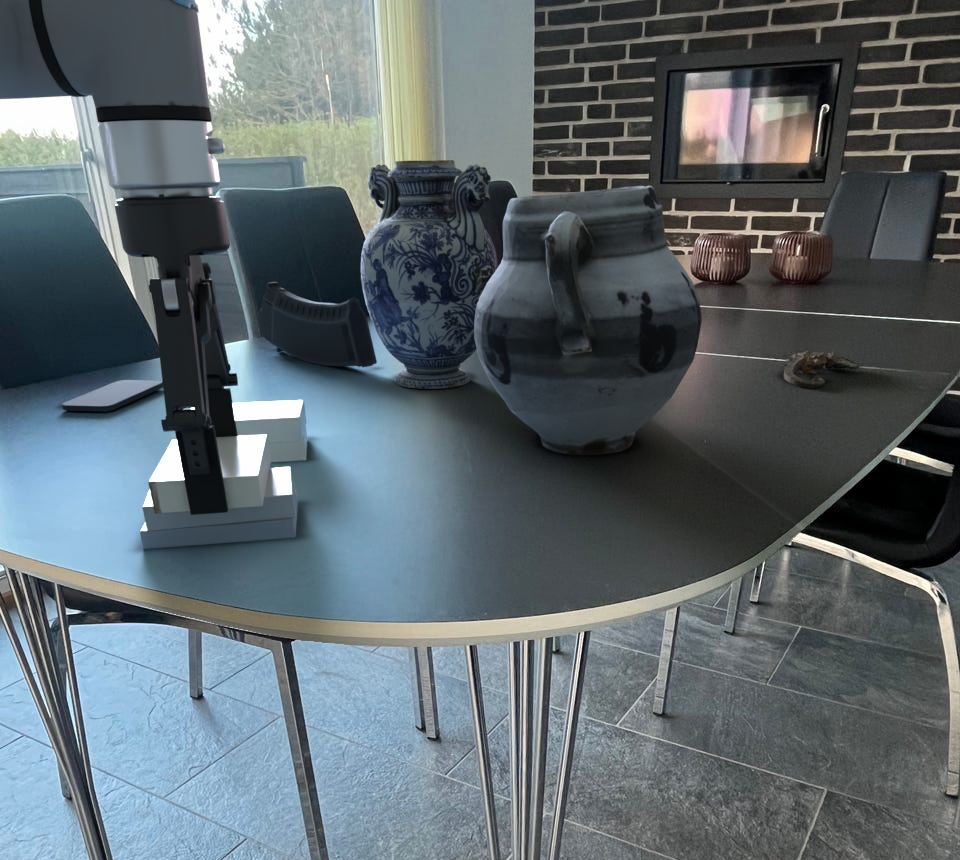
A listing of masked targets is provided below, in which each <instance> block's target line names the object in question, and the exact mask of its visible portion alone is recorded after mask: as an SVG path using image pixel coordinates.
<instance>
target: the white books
mask: <svg viewBox="0 0 960 860" xmlns="http://www.w3.org/2000/svg"><path fill="white" fill-rule="evenodd" d="M190 409H195V408H190ZM233 409H234V415H235V422H236V428H237V435H238V436H250V435H267V437H268V445H269V452H270V460H271V463H283V462H295V461H297V462H298V461H307V455H308V454H307V453H308V433H307V415H306V406H305V400H304V399H293V400H292V399H291V400H290V399H289V400H271V401H270V400H269V401H250V402H247V401H246V402H233Z"/></svg>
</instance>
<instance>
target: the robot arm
mask: <svg viewBox="0 0 960 860" xmlns="http://www.w3.org/2000/svg"><path fill="white" fill-rule="evenodd" d="M199 14H200V11H199V5H198V4H197V2H196V0H0V100H15V99H20V100H21V99H38V98H59V97H71V98H72V97H73V98H85V97H86V98H87V97H88V96H89V97H92V100H93V104H94V108H95V114H96V120H97V127H98V132H99V137H100V143H101V149H102V153H103V159H104V164H105V169H106V174H107V180H108V185H109V186H110V187H111V188H112V189H113V190H119V195H120V198H118V199H116V203H115V204H114V205H113V206H114V209H115V210H114V211H115V215H116V220H117V225H118V230H119V235H120V240H121V246H122V249H123V251H124V252H125V254H127V255H129V256H131V257H134V258H154V259H155V260H156V263H157V274H158V278H150V279H149V284H148V290H149V293H150V296H151V300H152V301H151V302H152V306H153V312H154V318H155V327H156V337H157V344H158V346H157V347H158V353H159V354H158V355H159V362H160V372H161V381H163V388H162V389H163V398H164V406H165V407H164V408H165V419H160V423H161V429H162V430H163V432H166V433H167V432H174V433H175V439H177V445H178V450H179V455H180V460H181V466H182V471H183V476H184V482H185V487H186V492H187V497H188V503H189V508H190V513H191V515H198V514H211V513H225V512H227V511H228V505H227V499H226V493H225V487H224V481H223V475H222V469H221V463H220V457H219V451H218V445H217V439H216V437H232V436H238V435H237V428H236V422H235V415H234V409H233V403H234V402H233V396H232V391H231V390H232V389H231V387H238V386H239V379H238V374H237V373H238V372H234V373H232V372H231V364H230V363H229V358H228V354H227V349H226V345H225V339H224V335H223V330H222V326H221V321H220V316H219V311H218V306H217V302H216V300H217V299H216V297H217V296H216V286H215V283H214V279H213V278H212V266H210V264H209V261H202V258H201V256H210V255H217V254H223V253H226V252H227V251H228V250H229V249H230V247H231V240H230V233H229V227H228V226H229V225H228V219H227V212H226V206H225V201H224V200H222V197H221V196H216V195H215V196H214V188H216V187H219V186H220V184H221V177H220V169H219V162H218V159H216V157H215V155H221V154H222V155H223V154H224V152H225V151H226V145H225V143H224V141H223V139H222V138H220V137H212V136H213V133H214V129H213V128H214V127H213V124H212V121H213V120H212V119H213V118H212V113H211V108H210V107H211V106H210V100H209V93H208V86H207V85H208V83H207V78H206V77H207V76H206V70H205V61H204V53H203V46H202V38H201V30H200V22H199ZM230 372H231V373H230ZM227 387H228V388H227ZM191 408H195V409H191Z"/></svg>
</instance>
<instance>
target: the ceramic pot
mask: <svg viewBox="0 0 960 860" xmlns="http://www.w3.org/2000/svg"><path fill="white" fill-rule="evenodd" d="M663 211H664V210H663V205H662V204H661V202H660V200H659V197H658V196H657V192H656V190H655V187H654V186H652V185H647V186H645V185H636V186H623V187H617V188H606V189H597V190H596V189H595V190H587V191H585V190H584V191H574V192H566V193H558V194H557V193H555V194H554V193H553V194H552V193H550V194H540V195H529V196H528V195H527V196H519V197H518V196H517V197H512V198H510V199H509V201H508V203H507V206H506V211H505V214H504V217H503V219H502V244H503V245H502V249H503V252H502V259H501V262H500V264H499V265H498V268H497V270H496V271H495V272H494V274H493V275H492V277H491V278H490V280H489V281H488V282H487V284H486V286H485V288H484V290H483V292H482V294H481V296H480V298H479V301H478V303H477V307H476V313H475V320H474V339H475V343H476V348H477V349H476V350H477V352H476V353H477V356H478V359H479V362H480V364H481V366H482V368H483V370H484V372H485V374H486V376H487V378H488V380H489V382H490V383H491V385H492V386H493V388H494V389H495V391H496V392H497V394H498V395H499V396H500V397H501V399H502V400H503V401H504V403H505V404H506V405H507V407H508V409H509V410H510V412H511V413H512V414H513V415H515V416H516V417H517V418H518V419H519V420H520V421H521V422H523V423H524V424H525V425H527V426H528V427H529V428H531V429H532V430H533V431H534V432H536V433H537V434H538V435H539V437H540V440H541V441H540V442H541V445H542V447H544V448H546V449H547V450H550V451H551V452H555V453H560V454H564V455H574V456H598V455H607V454H614V453H619V452H623V451H625V450H627V449H629V448H630V447H632V446H633V442H634V439H635V436H636V433H637V431H638V430H639V429H640V428H642V427H643V426H644V425H645V424H646V423H647V422H648V421H649V420H651V419H652V417H654V416H655V415H656V414H657V413H658V412H659V411H660V410H662V409H663V407H664V406H665V405H666V404H667V402H669V401H670V400H671V398H672V397H673V395H674V394H675V392H676V391H677V389H678V387H679V386H680V384H681V382H682V381H683V380H684V377H685V376H686V374H687V372H688V371H689V369H690V367H691V365H692V364H693V362H694V359H695V356H696V353H697V349H698V345H699V339H700V334H701V327H702V321H703V318H702V317H703V315H702V309H701V303H700V302H701V301H700V298H699V295H698V293H697V290H696V288H695V285H694V282H693V280H692V279H691V276H690V275H689V273H688V272H687V270H686V269H685V267H684V266H683V265H682V263H681V262H680V261H679V259H678V258H677V256H676V255H675V254H674V253H673V252H672V250H671V249H670V247H669V245H668V241H667V236H666V230H665V229H666V228H665V223H664V222H665V221H664V212H663Z"/></svg>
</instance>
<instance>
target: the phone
mask: <svg viewBox="0 0 960 860" xmlns="http://www.w3.org/2000/svg"><path fill="white" fill-rule="evenodd" d="M160 389H161V390H162V389H163V381H162V380H153V379H152V380H148V379H147V380H144V379H121V380H117V381H113V382H112V383H109V384H107V385H105V386H104V385H103V386H101V387H99V388H96V389H95V390H92V391H89V392H87V393H84V394H82V395H79V396H77V397H74V398H72V399H70V400H67V401H65V402H62V404H61V407H62V410H63V411H66V412H67V411H72V412H99V413H100V412H111V411H114V410H118V409H119V408H121V407H123V406H125V405H127V404H130V403H133V402H135V401H137V400H138V399H141V398H144V397H145V396H147V395H150V394H152V393H154V392H156V391H158V390H160Z"/></svg>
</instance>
